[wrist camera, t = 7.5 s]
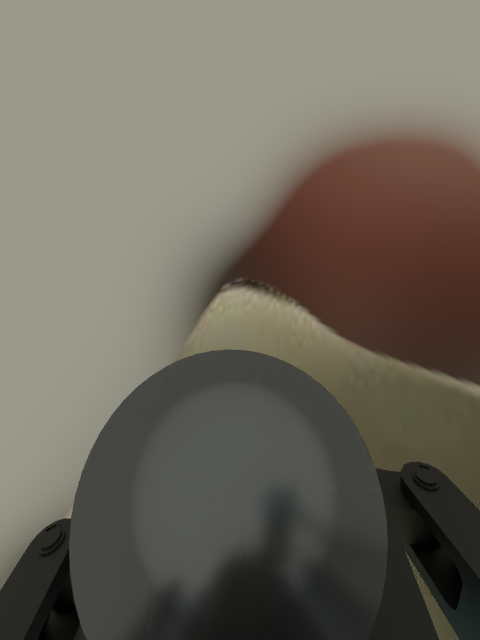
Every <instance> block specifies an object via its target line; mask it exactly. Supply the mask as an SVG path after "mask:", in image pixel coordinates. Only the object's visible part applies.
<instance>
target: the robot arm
mask: <svg viewBox="0 0 480 640" xmlns="http://www.w3.org/2000/svg"><path fill="white" fill-rule="evenodd" d="M375 469H376V472H377V476H378V479H379V483H380V487H381V491H382V494H383V501H384V507H385V513H386V520H387V540H388V552H387V568H386V578H385V583H384V589H383V594H382V600H381V604H380V608H379V611H378V614H377V617H376V620H375V624H374V627H373V630H372V633H371V635H370V637H369V639H368V640H439V638H438V636H437V633H436V630H435V628H434V625H433V623H432V620H431V618H430V615H429V612H428V610H427V607H426V605H425V602H424V599H423V597H422V594H421V592H420V589H419V586H418V584H417V581H416V579H415V576H414V573H413V571H412V568H411V566H410V563H409V560H408V558H407V555H406V553H405V550H406V552H407V554H408V555H409V557H410V559H411V560H412V562H413V564H414V565H415V567H416V569H417V570H418V572H419V573H420V575H421V577H422V578H423V580H424V582H425V583H426V585H427V587H428V588H429V590H430V592H431V593H432V595H433V597H434V598H435V600H436V601H437V603H438V605H439V606H440V608H441V610H442V611H443V613H444V615H445V616H446V618H447V620H448V621H449V623H450V624H451V626H452V628H453V629H454V631H455V633H456V634H457V636H458V638H459V639H460V640H480V511H479V510H478V508H477V507H476V506H475V505H474V504H473V503H472V502H471V501H470V500H469V499H468V498H467V497H466V496H465V495H464V494H463V493H462V492H461V491H460V490H459V489H458V488H457V487H456V486H455V485H454V484H453V483H452V482H451V481H450V480H449V479H448V477H447V476H445V475H444V474H443V473H442V472H441V471H439V470H438V469H436V468H434V467H432V466H430V465H428V464H425V463H421V462H410V463H407V464H405V465H404V466H403V468H402V469H401V472H395V471H387V470H381V469H377V468H375ZM70 527H71V519H66V518H65V519H61V520H58V521H56V522H54V523H52V524H50V525H49V526H47V527H46V528H45V529H43V530H42V531H41V532H40V533H39V534H38V535H37V536H36V537H35V538H34V540H33V541H32V542H31V543H30V545H29V546H28V548H27V550H26V551H25V553H24V554H23V556H22V557H21V559H20V561H19V562H18V564H17V565H16V567H15V568H14V570H13V572H12V573H11V575H10V576H9V578H8V579H7V581H6V583H5V584H4V586H3V588H2V589H1V590H0V640H86V637H85V635H84V632H83V630H82V628H81V624H80V620H79V617H78V613H77V609H76V606H75V602H74V597H73V590H72V583H71V576H70V558H69V540H70ZM403 547H404V548H403ZM404 549H405V550H404Z"/></svg>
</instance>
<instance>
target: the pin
mask: <svg viewBox="0 0 480 640" xmlns="http://www.w3.org/2000/svg"><path fill="white" fill-rule="evenodd" d="M387 552H388V540H387V520H386V513H385V507H384V501H383V494H382V491H381V487H380V483H379V479H378V476H377V472H376V469H375V467H374V464H373V461H372V459H371V456H370V454H369V451H368V449H367V447H366V445H365V443H364V441H363V439H362V437H361V435H360V433H359V431H358V429H357V428H356V426H355V425H354V423H353V422H352V420H351V419H350V417H349V416H348V414H347V413H346V411H345V410H344V409H343V408H342V407H341V405H340V404H339V403H338V402H337V401H336V399H335V398H334V397H333V396H332V395H331V394H330V393H329V392H328V391H327V390H326V389H325V388H324V387H323V386H322V385H320V384H319V383H318V382H317V381H315V380H314V379H313V378H311V377H310V376H309V375H307V374H306V373H304V372H303V371H301V370H299V369H298V368H296V367H294V366H293V365H291V364H289V363H286V362H284V361H282V360H279V359H277V358H275V357H271V356H268V355H265V354H261V353H256V352H250V351H244V350H220V351H211V352H206V353H201V354H196V355H193V356H190V357H187V358H184V359H181V360H179V361H177V362H175V363H173V364H171V365H169V366H167V367H165V368H163V369H162V370H160V371H159V372H157V373H155V374H154V375H152V376H151V377H149V378H148V379H147V380H146V381H144V382H143V383H142V384H141V385H139V386H138V387H137V388H136V389H135V390H134V391H133V392H132V393H131V394H130V395H129V396H128V397H127V398H126V399H125V400H124V401H123V402H122V403H121V405H120V406H119V407H118V408H117V409H116V411H115V412H114V413H113V414H112V416H111V417H110V419H109V420H108V422H107V423H106V425H105V426H104V428H103V429H102V431H101V432H100V434H99V436H98V438H97V440H96V442H95V444H94V446H93V448H92V450H91V451H90V454H89V456H88V459H87V461H86V464H85V466H84V469H83V471H82V475H81V478H80V481H79V485H78V488H77V492H76V496H75V501H74V506H73V512H72V517H71V527H70V540H69V558H70V576H71V583H72V590H73V597H74V602H75V606H76V609H77V613H78V617H79V620H80V624H81V628H82V630H83V632H84V635H85V637H86V640H368V639H369V637H370V635H371V633H372V630H373V627H374V624H375V620H376V617H377V614H378V611H379V608H380V604H381V600H382V594H383V589H384V583H385V578H386V568H387Z"/></svg>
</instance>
